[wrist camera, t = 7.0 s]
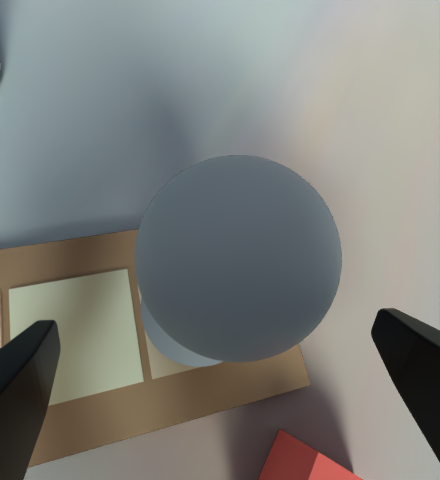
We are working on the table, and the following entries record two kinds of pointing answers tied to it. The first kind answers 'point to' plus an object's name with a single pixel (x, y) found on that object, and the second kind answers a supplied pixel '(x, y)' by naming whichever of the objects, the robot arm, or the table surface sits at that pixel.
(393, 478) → the table surface
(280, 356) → the game board
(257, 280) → the pawn
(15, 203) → the table surface
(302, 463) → the red die
